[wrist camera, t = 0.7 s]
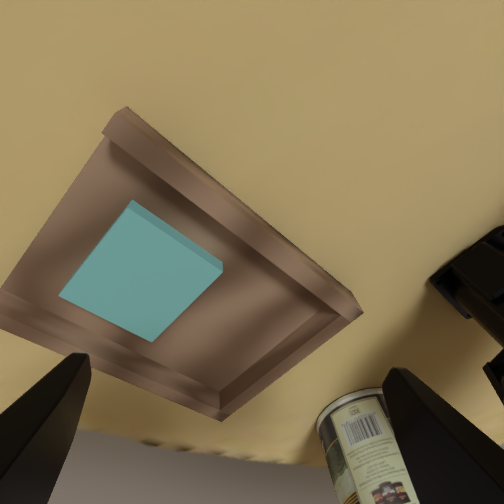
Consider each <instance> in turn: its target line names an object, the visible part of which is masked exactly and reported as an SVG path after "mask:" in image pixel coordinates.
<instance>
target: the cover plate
mask: <svg viewBox="0 0 504 504" xmlns="http://www.w3.org/2000/svg"><path fill="white" fill-rule="evenodd" d="M222 273H223V263H222V262H221V261H220V260H219V259H217V258H216V257H214V256H213V255H211V254H210V253H208V252H207V251H206V250H204V249H203V248H201V247H200V246H198V245H197V244H196V243H194V242H193V241H191V240H190V239H188V238H187V237H185V236H184V235H183V234H181V233H180V232H178V231H177V230H175V229H174V228H173V227H171V226H170V225H168V224H167V223H165V222H164V221H162V220H161V219H160V218H158V217H157V216H155V215H154V214H152V213H151V212H149V211H148V210H147V209H145V208H144V207H142V206H141V205H139V204H138V203H137V202H135V201H134V200H131V201H130V203H129V204H128V205H127V207H126V208H125V209H124V210H123V212H122V213H121V214H120V216H119V217H118V218H117V219H116V221H115V222H114V223H113V224H112V226H111V227H110V228H109V230H108V231H107V232H106V233H105V235H104V236H103V237H102V239H101V240H100V241H99V242H98V244H97V245H96V246H95V247H94V249H93V250H92V251H91V253H90V254H89V255H88V256H87V258H86V259H85V260H84V262H83V263H82V264H81V265H80V267H79V268H78V269H77V270H76V272H75V273H74V274H73V276H72V277H71V278H70V279H69V281H68V282H67V283H66V284H65V286H64V288H63V289H62V291H61V292H60V294H59V295H58V296H59V297H61V298H63V299H65V300H67V301H69V302H71V303H73V304H75V305H77V306H79V307H81V308H83V309H85V310H87V311H89V312H91V313H93V314H95V315H98V316H100V317H102V318H104V319H106V320H108V321H110V322H112V323H114V324H116V325H118V326H120V327H122V328H124V329H126V330H128V331H130V332H132V333H134V334H136V335H138V336H140V337H142V338H144V339H146V340H148V341H150V342H153V341H154V340H155V339H156V338H157V337H158V336H159V335H160V334H161V333H162V332H163V331H164V330H165V329H166V328H167V327H168V326H169V325H170V324H171V323H172V322H173V321H174V320H175V319H176V318H177V317H178V316H179V315H180V314H181V313H182V312H183V311H184V310H185V309H186V308H187V307H188V306H189V305H190V304H191V303H192V302H193V301H194V300H195V299H196V298H197V297H198V296H199V295H200V294H201V293H202V292H203V291H204V290H205V289H206V288H207V287H208V286H209V285H210V284H211V283H212V282H214V281H215V280H216V279H217V278H218V277H219V276H220V275H221V274H222Z"/></svg>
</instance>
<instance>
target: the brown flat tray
mask: <svg viewBox="0 0 504 504" xmlns="http://www.w3.org/2000/svg"><path fill="white" fill-rule="evenodd" d="M102 134H103V135H105V137H104V138H103V140H102V141H101V142H100V144H99V145H98V147H97V148H96V150H95V151H94V153H93V154H92V156H91V157H90V158H89V160H88V161H87V163H86V164H85V166H84V167H83V169H82V170H81V172H80V173H79V175H78V176H77V177H76V179H75V180H74V182H73V183H72V185H71V186H70V188H69V189H68V191H67V192H66V193H65V195H64V196H63V198H62V199H61V201H60V202H59V204H58V205H57V207H56V208H55V210H54V211H53V212H52V214H51V215H50V217H49V218H48V220H47V221H46V223H45V224H44V226H43V227H42V228H41V230H40V231H39V233H38V234H37V236H36V237H35V239H34V240H33V242H32V243H31V245H30V246H29V247H28V249H27V250H26V252H25V253H24V255H23V256H22V258H21V259H20V261H19V262H18V263H17V265H16V266H15V268H14V269H13V271H12V272H11V274H10V275H9V277H8V278H7V280H6V281H5V282H4V284H3V285H2V287H1V288H0V329H2V330H5V331H7V332H10V333H12V334H14V335H17V336H19V337H21V338H24V339H26V340H29V341H31V342H33V343H36V344H38V345H40V346H43V347H45V348H48V349H50V350H52V351H55V352H57V353H59V354H62V355H64V356H68V355H70V354H71V353H74V352H78V353H88V354H89V357H90V365H91V367H93V368H95V369H97V370H100V371H102V372H104V373H107V374H109V375H112V376H114V377H116V378H119V379H121V380H123V381H126V382H128V383H131V384H133V385H135V386H138V387H140V388H142V389H145V390H147V391H150V392H152V393H154V394H157V395H159V396H161V397H164V398H166V399H169V400H171V401H173V402H176V403H178V404H180V405H183V406H185V407H188V408H190V409H192V410H195V411H197V412H199V413H202V414H204V415H206V416H209V417H211V418H214V419H216V420H218V421H221V422H222V421H223V420H224V419H226V418H227V417H228V416H230V415H231V414H232V413H234V412H235V411H236V410H238V409H239V408H240V407H241V406H243V405H244V404H245V403H247V402H248V401H249V400H251V399H252V398H253V397H254V396H256V395H257V394H258V393H260V392H261V391H262V390H264V389H265V388H266V387H268V386H269V385H270V384H271V383H273V382H274V381H275V380H277V379H278V378H279V377H281V376H282V375H283V374H285V373H286V372H287V371H288V370H290V369H291V368H292V367H294V366H295V365H296V364H298V363H299V362H300V361H302V360H303V359H304V358H305V357H307V356H308V355H309V354H311V353H312V352H313V351H315V350H316V349H317V348H319V347H320V346H321V345H322V344H324V343H325V342H326V341H328V340H329V339H330V338H332V337H333V336H334V335H336V334H337V333H338V332H339V331H341V330H342V329H343V328H345V327H346V326H347V325H349V324H350V323H351V322H352V321H354V320H355V319H356V318H358V317H359V316H360V315H362V314H363V313H364V312H363V310H362V309H361V307H360V305H359V304H358V302H357V300H356V299H355V297H354V295H353V294H352V292H351V291H349V290H348V289H347V288H346V287H345V286H343V285H342V284H341V283H340V282H339V281H337V280H336V279H335V278H334V277H333V276H331V275H330V274H329V273H328V272H326V271H325V270H324V269H323V268H322V267H320V266H319V265H318V264H317V263H316V262H314V261H313V260H312V259H311V258H310V257H308V256H307V255H306V254H305V253H304V252H302V251H301V250H300V249H299V248H297V247H296V246H295V245H294V244H293V243H291V242H290V241H289V240H288V239H287V238H285V237H284V236H283V235H282V234H281V233H279V232H278V231H277V230H276V229H274V228H273V227H272V226H271V225H270V224H268V223H267V222H266V221H265V220H264V219H262V218H261V217H260V216H259V215H258V214H256V213H255V212H254V211H253V210H251V209H250V208H249V207H248V206H247V205H245V204H244V203H243V202H242V201H241V200H239V199H238V198H237V197H236V196H235V195H233V194H232V193H231V192H230V191H228V190H227V189H226V188H225V187H224V186H222V185H221V184H220V183H219V182H218V181H216V180H215V179H214V178H213V177H212V176H210V175H209V174H208V173H207V172H205V171H204V170H203V169H202V168H201V167H199V166H198V165H197V164H196V163H195V162H193V161H192V160H191V159H190V158H189V157H187V156H186V155H185V154H184V153H182V152H181V151H180V150H179V149H178V148H176V147H175V146H174V145H173V144H172V143H170V142H169V141H168V140H167V139H166V138H164V137H163V136H162V135H161V134H159V133H158V132H157V131H156V130H155V129H153V128H152V127H151V126H150V125H149V124H147V123H146V122H145V121H144V120H143V119H141V118H140V117H139V116H138V115H136V114H135V113H134V112H133V111H132V110H130V109H129V108H128V107H125V108H123V109H121V110H119V111H117V112H116V113H115V114H114V115H113V117H112V118H111V119H110V121H109V122H108V124H107V125H106V127H105V128H104V130H103V131H102ZM131 200H134V201H135V202H137V203H138V204H139V205H141V206H142V207H144V208H145V209H147V210H148V211H149V212H151V213H152V214H154V215H155V216H157V217H158V218H160V219H161V220H162V221H164V222H165V223H167V224H168V225H170V226H171V227H173V228H174V229H175V230H177V231H178V232H180V233H181V234H183V235H184V236H185V237H187V238H188V239H190V240H191V241H193V242H194V243H196V244H197V245H198V246H200V247H201V248H203V249H204V250H206V251H207V252H208V253H210V254H211V255H213V256H214V257H216V258H217V259H219V260H220V261H221V262H222V263H223V273H222V274H221V275H220V276H219V277H218V278H217V279H216V280H215V281H214V282H212V283H211V284H210V285H209V286H208V287H207V288H206V289H205V290H204V291H203V292H202V293H201V294H200V295H199V296H198V297H197V298H196V299H195V300H194V301H193V302H192V303H191V304H190V305H189V306H188V307H187V308H186V309H185V310H184V311H183V312H182V313H181V314H180V315H179V316H178V317H177V318H176V319H175V320H174V321H173V322H172V323H171V324H170V325H169V326H168V327H167V328H166V329H165V330H164V331H163V332H162V333H161V334H160V335H159V336H158V337H157V338H156V339H155V340H154V341H153V342H150V341H148V340H146V339H144V338H142V337H140V336H138V335H136V334H134V333H132V332H130V331H128V330H126V329H124V328H122V327H120V326H118V325H116V324H114V323H112V322H110V321H108V320H106V319H104V318H102V317H100V316H98V315H95V314H93V313H91V312H89V311H87V310H85V309H83V308H81V307H79V306H77V305H75V304H73V303H71V302H69V301H67V300H65V299H63V298H61V297H59V296H58V295H59V294H60V292H61V291H62V289H63V288H64V286H65V284H66V283H67V282H68V281H69V279H70V278H71V277H72V276H73V274H74V273H75V272H76V270H77V269H78V268H79V267H80V265H81V264H82V263H83V262H84V260H85V259H86V258H87V256H88V255H89V254H90V253H91V251H92V250H93V249H94V247H95V246H96V245H97V244H98V242H99V241H100V240H101V239H102V237H103V236H104V235H105V233H106V232H107V231H108V230H109V228H110V227H111V226H112V224H113V223H114V222H115V221H116V219H117V218H118V217H119V216H120V214H121V213H122V212H123V210H124V209H125V208H126V207H127V205H128V204H129V203H130V201H131Z"/></svg>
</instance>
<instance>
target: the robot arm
mask: <svg viewBox="0 0 504 504" xmlns="http://www.w3.org/2000/svg"><path fill="white" fill-rule="evenodd" d="M437 280H438V281H437ZM430 282H431V284H432V285H433V286H434V287H435V288H436V289H437V290H438V291H439V292H440V293H441V294H442V295H443V296H444V297H445V298H446V299H447V300H448V301H449V302H450V303H451V304H452V305H453V306H454V307H455V308H456V309H457V310H458V311H459V312H460V313H461V314H462V315H463V316H464V317H465V318H466V319H471V318H473V319H474V320H475V321H476V322H478V323H479V324H480V325H481V326H482V327H483V328H484V329H485V330H486V331H487V332H488V333H489V334H490V335H491V336H492V337H493V338H494V339H495V340H496V341H497V342H498V343H499V344H500V345H501V346H502V347H503V349H502V350H501V351H500V352H499V353H498V354H497V355H496V357H495V358H494V359H493V360H492V361H491V362H487V363H486V364H485V365H484V366H483V370H484V372H485V374H486V375H487V377H488V379H489V381H490V382H491V384H492V386H493V388H494V389H495V391H496V393H497V395H498V396H499V398H500V400H501V402H502V403H503V405H504V225H502V226H499V227H498V228H496V229H495V230H494V231H492V232H491V233H490V234H488V235H487V236H486V237H484V238H483V239H482V240H480V241H479V242H478V243H476V244H475V245H474V246H472V247H471V248H470V249H468V250H467V251H466V252H464V253H463V254H462V255H460V256H459V257H457V258H456V259H455V260H453V261H452V262H451V263H449V264H448V265H447V266H445V267H444V268H443V269H441V270H440V271H439V272H437V273H436V274H435V275H433V276H432V277H431V279H430ZM90 381H91V365H90V357H89V354H88V353H78V352H74V353H71V354H70V355H68V356H67V357H66V358H65V359H64V360H63V361H61V362H60V363H59V364H58V365H57V366H56V367H54V368H53V369H52V370H51V371H50V372H49V373H47V374H46V375H45V376H44V377H43V378H42V379H41V380H39V381H38V382H37V383H36V384H35V385H34V386H32V387H31V388H30V389H29V390H28V391H27V392H25V393H24V394H23V395H22V396H21V397H20V398H19V399H17V400H16V401H15V402H14V403H13V404H12V405H10V406H9V407H8V408H7V409H6V410H5V411H3V412H2V413H1V414H0V504H47V503H48V501H49V498H50V496H51V493H52V491H53V488H54V486H55V484H56V481H57V479H58V476H59V474H60V471H61V469H62V466H63V464H64V462H65V459H66V457H67V454H68V452H69V449H70V447H71V444H72V441H73V439H74V435H75V432H76V429H77V426H78V422H79V419H80V415H81V412H82V409H83V405H84V402H85V398H86V395H87V391H88V388H89V385H90ZM382 392H383V396H384V399H385V403H386V407H387V410H388V414H389V418H390V421H391V425H392V428H393V432H394V435H395V439H396V442H397V445H398V448H399V450H400V453H401V456H402V458H403V461H404V464H405V466H406V469H407V472H408V474H409V477H410V480H411V482H412V485H413V488H414V490H415V493H416V496H417V498H418V501H419V504H504V450H503V449H502V448H501V447H500V446H499V445H498V444H496V443H495V442H494V441H493V440H492V439H490V438H489V437H488V436H487V435H486V434H484V433H483V432H482V431H481V430H480V429H478V428H477V427H476V426H475V425H474V424H472V423H471V422H470V421H469V420H468V419H466V418H465V417H464V416H463V415H462V414H460V413H459V412H458V411H457V410H456V409H454V408H453V407H452V406H451V405H450V404H448V403H447V402H446V401H445V400H444V399H442V398H441V397H440V396H439V395H438V394H436V393H435V392H434V391H433V390H432V389H431V388H429V387H428V386H427V385H426V384H425V383H423V382H422V381H421V380H420V379H419V378H417V377H416V376H415V375H414V374H413V373H411V372H410V371H409V370H408V369H406V368H401V367H393V368H392V369H391V370H390V371H389V373H388V375H387V377H386V378H385V380H384V382H383V384H382Z"/></svg>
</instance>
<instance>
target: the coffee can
mask: <svg viewBox="0 0 504 504" xmlns="http://www.w3.org/2000/svg"><path fill="white" fill-rule="evenodd" d="M316 429H317V433H318V435H319V437H320V440H321V444H322V447H323V450H324V454H325V458H326V461H327V464H328V468H329V471H330V475H331V478H332V481H333V484H334V488H335V491H336V495H337V498H338V502H339V504H419V501H418V498H417V496H416V493H415V490H414V488H413V485H412V482H411V480H410V477H409V474H408V472H407V469H406V466H405V464H404V461H403V458H402V456H401V453H400V450H399V448H398V445H397V442H396V439H395V435H394V432H393V428H392V425H391V421H390V418H389V414H388V410H387V407H386V403H385V399H384V396H383V392H382V388H370V389H364V390H360V391H356V392H353V393H350V394H348V395H345V396H343V397H341V398H339V399H337V400H336V401H334V402H333V403H331V404H330V405H329V406H327V408H326V409H325V410H324V411H323V412H322V413H321V414H320V416H319V418H318V420H317V424H316Z"/></svg>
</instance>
